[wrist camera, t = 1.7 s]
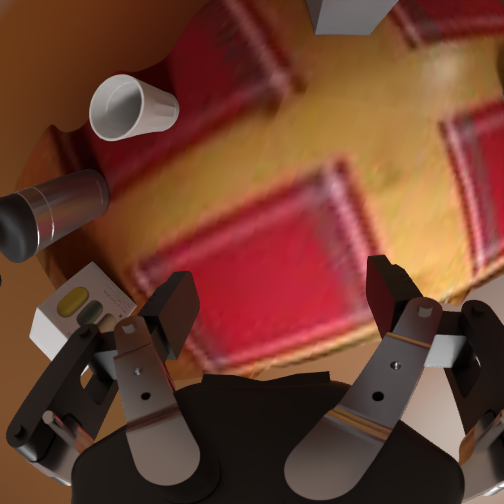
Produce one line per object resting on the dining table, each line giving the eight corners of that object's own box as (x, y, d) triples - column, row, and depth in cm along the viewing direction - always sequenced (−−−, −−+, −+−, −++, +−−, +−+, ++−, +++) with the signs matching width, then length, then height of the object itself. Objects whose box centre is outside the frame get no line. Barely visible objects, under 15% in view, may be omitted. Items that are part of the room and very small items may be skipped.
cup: (145, 84, 34) (98, 73, 23) (190, 90, 34) (152, 76, 23) (132, 132, 37) (84, 136, 26) (176, 141, 37) (134, 146, 26)
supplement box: (139, 305, 51) (93, 364, 35) (114, 332, 55) (75, 384, 40) (92, 259, 48) (35, 305, 32) (74, 292, 53) (27, 336, 37)
